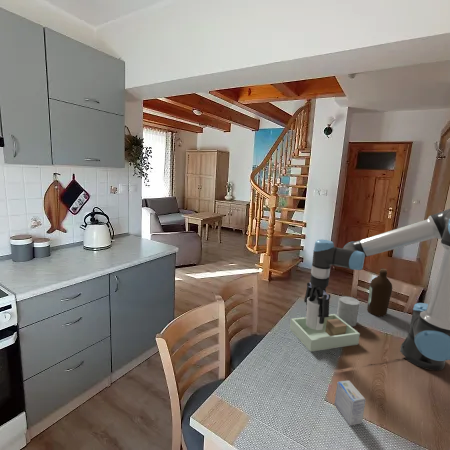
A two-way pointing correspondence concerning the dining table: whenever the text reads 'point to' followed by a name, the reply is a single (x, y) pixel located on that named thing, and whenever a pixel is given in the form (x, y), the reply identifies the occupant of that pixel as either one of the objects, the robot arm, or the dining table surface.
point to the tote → (323, 335)
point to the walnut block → (335, 327)
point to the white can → (348, 309)
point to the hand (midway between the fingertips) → (313, 324)
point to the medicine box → (349, 402)
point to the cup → (312, 313)
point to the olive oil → (379, 294)
